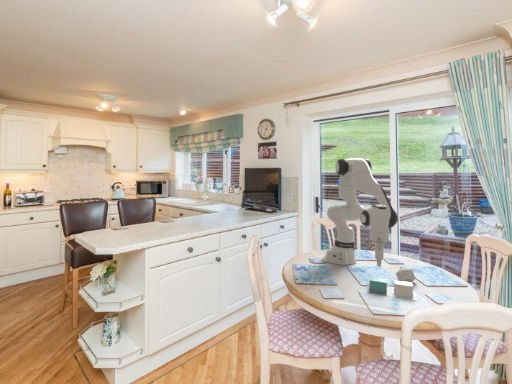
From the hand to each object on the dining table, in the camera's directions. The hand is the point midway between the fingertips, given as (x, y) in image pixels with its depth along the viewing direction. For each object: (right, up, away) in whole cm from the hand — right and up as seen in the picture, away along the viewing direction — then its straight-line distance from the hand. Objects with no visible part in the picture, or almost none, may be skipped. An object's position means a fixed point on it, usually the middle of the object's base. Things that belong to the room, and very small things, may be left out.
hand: (378, 263), depth 139 cm
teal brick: (0, -14, +1) cm, 14 cm away
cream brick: (+11, -14, -3) cm, 18 cm away
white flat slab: (+6, -15, -1) cm, 16 cm away
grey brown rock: (+20, -14, +11) cm, 27 cm away
